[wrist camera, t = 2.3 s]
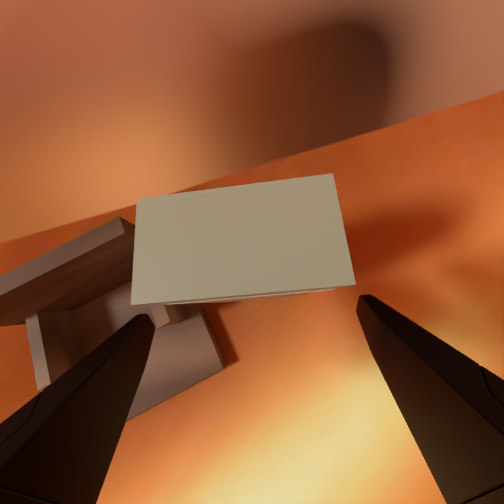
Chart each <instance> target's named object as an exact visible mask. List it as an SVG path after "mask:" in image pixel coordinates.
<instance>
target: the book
mask: <svg viewBox="0 0 504 504" xmlns="http://www.w3.org/2000/svg"><path fill="white" fill-rule="evenodd" d="M352 285H356V282H355V277H354V273H353V268H352V263H351V258H350V253H349V249H348V244H347V239H346V234H345V230H344V225H343V220H342V215H341V210H340V206H339V201H338V196H337V191H336V187H335V182H334V177H333V173H332V174H324V175H317V176H309V177H301V178H293V179H285V180H278V181H270V182H262V183H254V184H247V185H239V186H231V187H223V188H216V189H208V190H200V191H192V192H185V193H177V194H169V195H161V196H154V197H146V198H138V199H137V208H136V225H135V241H134V258H133V274H132V291H131V305H149V304H166V305H167V304H187V303H215V302H234V301H245V300H256V299H268V298H279V297H290V296H299V295H304V294H310V293H315V292H322V291H328V290H334V289H336V288H341V287H347V286H352Z"/></svg>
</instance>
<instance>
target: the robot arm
mask: <svg viewBox="0 0 504 504" xmlns="http://www.w3.org/2000/svg"><path fill="white" fill-rule="evenodd" d="M356 312H357V316H358V319H359V321H360V324H361V327H362V329H363V332H364V335H365V337H366V340H367V343H368V345H369V348H370V350H371V353H372V355H373V357H374V359H375V361H376V363H377V365H378V367H379V369H380V371H381V373H382V375H383V377H384V379H385V381H386V383H387V385H388V387H389V389H390V391H391V393H392V395H393V397H394V399H395V401H396V403H397V405H398V407H399V409H400V411H401V413H402V415H403V417H404V419H405V421H406V423H407V425H408V427H409V429H410V431H411V433H412V435H413V437H414V439H415V441H416V443H417V445H418V447H419V449H420V451H421V453H422V455H423V457H424V459H425V461H426V463H427V465H428V467H429V469H430V471H431V473H432V475H433V477H434V479H435V481H436V483H437V485H438V487H439V489H440V491H441V493H442V495H443V497H444V499H445V501H446V503H447V504H504V380H503V379H501V378H500V377H498V376H497V375H495V374H494V373H492V372H490V371H489V370H487V369H486V368H484V367H483V366H479V364H478V363H476V362H475V361H473V360H472V359H470V358H469V357H467V356H466V355H464V354H462V353H461V352H459V351H458V350H456V349H455V348H453V347H452V346H450V345H448V344H447V343H445V342H444V341H442V340H441V339H439V338H438V337H436V336H435V335H433V334H431V333H430V332H428V331H427V330H425V329H424V328H422V327H421V326H419V325H417V324H416V323H414V322H413V321H411V320H410V319H408V318H407V317H405V316H404V315H402V314H400V313H399V312H397V311H396V310H394V309H393V308H391V307H390V306H388V305H386V304H385V303H383V302H382V301H380V300H379V299H377V298H376V297H374V296H372V295H370V294H368V295H360V296H359V299H358V303H357V308H356ZM154 333H155V325H154V323H153V321H152V320H151V318H150V316H149V315H148V314H138V315H136V316H135V317H133V318H132V319H131V320H130V321H128V322H127V323H126V324H125V325H123V326H122V327H121V328H120V329H118V330H117V331H116V332H115V333H113V334H112V335H111V336H110V337H108V338H107V339H106V340H105V341H103V342H102V343H101V344H100V345H99V346H97V347H96V348H95V349H94V350H92V351H91V352H90V353H89V354H87V355H86V356H85V357H84V358H82V359H81V360H80V361H79V362H77V363H76V364H75V365H74V366H72V367H71V368H70V369H69V370H67V371H66V372H65V373H64V374H62V375H61V376H60V377H59V378H57V379H56V380H55V381H54V382H52V383H51V384H50V385H49V386H48V387H46V388H45V389H44V390H43V391H42V392H40V393H39V394H38V395H36V396H35V397H34V398H33V399H31V400H30V401H29V402H28V403H26V404H25V405H24V406H23V407H21V408H20V409H19V410H17V411H16V412H15V413H14V414H12V415H11V416H10V417H9V418H7V419H6V420H5V421H3V422H2V423H1V424H0V504H96V502H97V500H98V497H99V494H100V491H101V488H102V486H103V483H104V480H105V477H106V475H107V472H108V469H109V466H110V464H111V461H112V458H113V455H114V453H115V450H116V447H117V444H118V442H119V439H120V436H121V433H122V431H123V428H124V425H125V422H126V420H127V417H128V414H129V411H130V409H131V406H132V403H133V400H134V398H135V395H136V392H137V389H138V386H139V384H140V381H141V378H142V375H143V373H144V370H145V367H146V364H147V360H148V356H149V352H150V348H151V345H152V341H153V337H154Z"/></svg>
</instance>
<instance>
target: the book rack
mask: <svg viewBox="0 0 504 504" xmlns="http://www.w3.org/2000/svg"><path fill="white" fill-rule="evenodd" d="M134 241H135V225H134V224H132V223H130V222H128V221H126V220H125V219H123V218H121V217H117V218H115V219H113V220H111V221H109V222H107V223H105V224H103V225H101V226H99V227H97V228H95V229H93V230H91V231H89V232H87V233H85V234H83V235H81V236H79V237H77V238H75V239H73V240H71V241H69V242H67V243H65V244H63V245H61V246H59V247H57V248H55V249H53V250H51V251H49V252H47V253H46V254H44V255H42V256H40V257H38V258H36V259H34V260H32V261H30V262H28V263H26V264H24V265H22V266H20V267H18V268H16V269H14V270H12V271H10V272H8V273H6V274H4V275H2V276H0V326H10V325H20V324H26V327H27V333H28V338H29V344H30V350H31V355H32V361H33V367H34V372H35V378H36V384H37V389H38V390H40V389H43V388H45V387H48V386H49V385H50V384H51V383H52V382H54V381H55V380H56V379H57V378H59V377H60V376H61V375H62V374H64V373H65V372H66V371H67V370H69V369H70V368H71V367H72V366H74V365H75V364H76V363H77V362H79V361H80V360H81V359H82V358H84V357H85V356H86V355H87V354H89V353H90V352H91V351H92V350H94V349H95V348H96V347H97V346H99V345H100V344H101V343H102V342H103V341H105V340H106V339H107V338H108V337H110V336H111V335H112V334H113V333H115V332H116V331H117V330H118V329H120V328H121V327H122V326H123V325H125V324H126V323H127V322H128V321H130V320H131V319H132V318H133V317H135V316H136V315H138V314H148V315H149V316H150V318H151V320H152V321H153V323H154V325H155V333H154V337H153V341H152V345H151V348H150V352H149V356H148V360H147V364H146V367H145V370H144V373H143V375H142V378H141V381H140V384H139V386H138V389H137V392H136V395H135V398H134V400H133V403H132V406H131V409H130V411H129V414H128V417H127V420H128V419H130V418H132V417H134V416H136V415H137V414H139V413H141V412H143V411H145V410H147V409H149V408H151V407H153V406H154V405H156V404H158V403H160V402H162V401H164V400H166V399H168V398H169V397H171V396H173V395H175V394H177V393H179V392H181V391H183V390H185V389H186V388H188V387H190V386H192V385H194V384H196V383H198V382H200V381H201V380H203V379H205V378H207V377H209V376H211V375H213V374H215V373H217V372H218V371H220V370H222V369H224V367H225V366H226V364H225V361H224V359H223V357H222V354H221V352H220V349H219V347H218V345H217V342H216V340H215V337H214V335H213V333H212V330H211V328H210V325H209V323H208V321H207V318H206V316H205V313H204V311H203V309H202V306H201V304H200V303H187V304H167V305H166V304H149V305H131V291H132V274H133V258H134Z"/></svg>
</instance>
